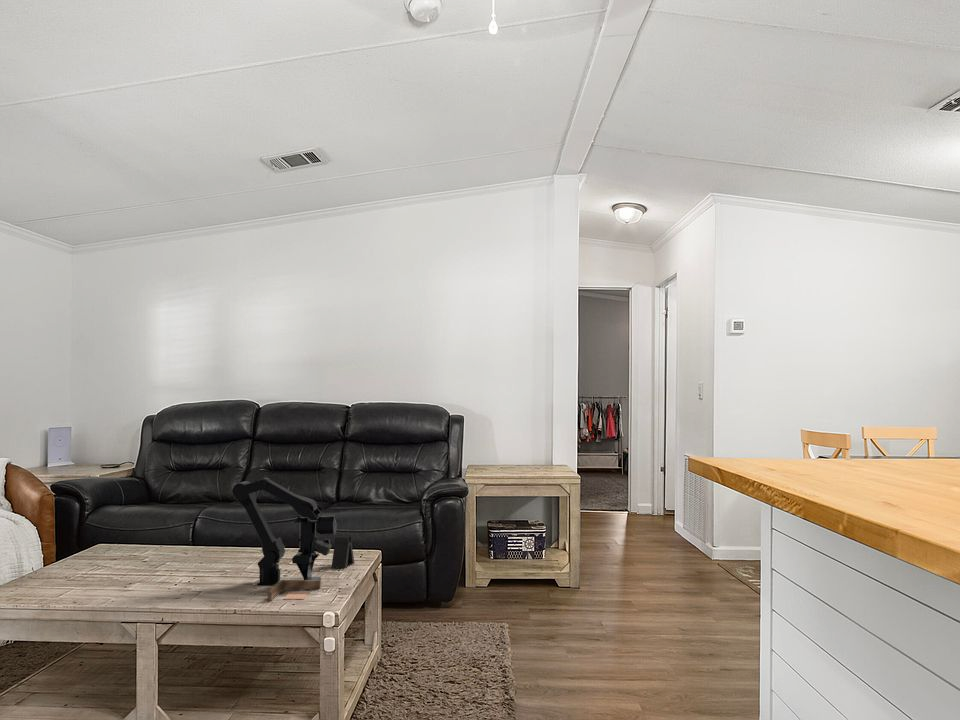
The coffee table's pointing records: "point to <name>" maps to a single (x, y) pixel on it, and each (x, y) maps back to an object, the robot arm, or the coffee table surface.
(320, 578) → the angle bracket
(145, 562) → the coffee table surface
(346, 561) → the phone stand
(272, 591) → the l-shaped wooden corner frame
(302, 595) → the pad
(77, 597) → the coffee table surface
